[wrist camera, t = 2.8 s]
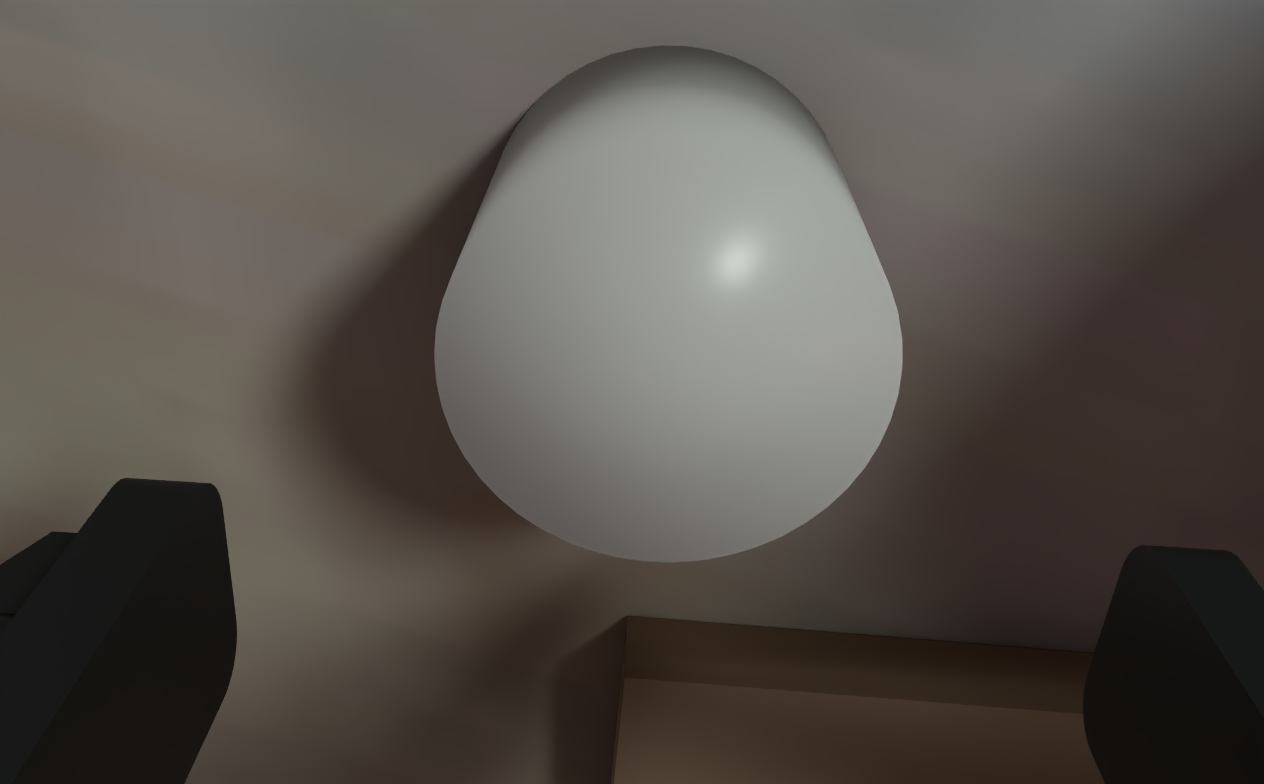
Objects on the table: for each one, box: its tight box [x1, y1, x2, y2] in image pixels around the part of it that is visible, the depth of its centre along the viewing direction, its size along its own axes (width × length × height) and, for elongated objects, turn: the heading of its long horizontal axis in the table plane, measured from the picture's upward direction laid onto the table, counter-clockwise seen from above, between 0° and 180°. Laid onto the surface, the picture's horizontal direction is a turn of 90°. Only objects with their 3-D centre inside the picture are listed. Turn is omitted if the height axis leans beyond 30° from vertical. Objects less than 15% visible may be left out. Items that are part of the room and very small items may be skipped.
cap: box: [434, 46, 902, 562], centre depth 14 cm, size 5×5×4 cm
